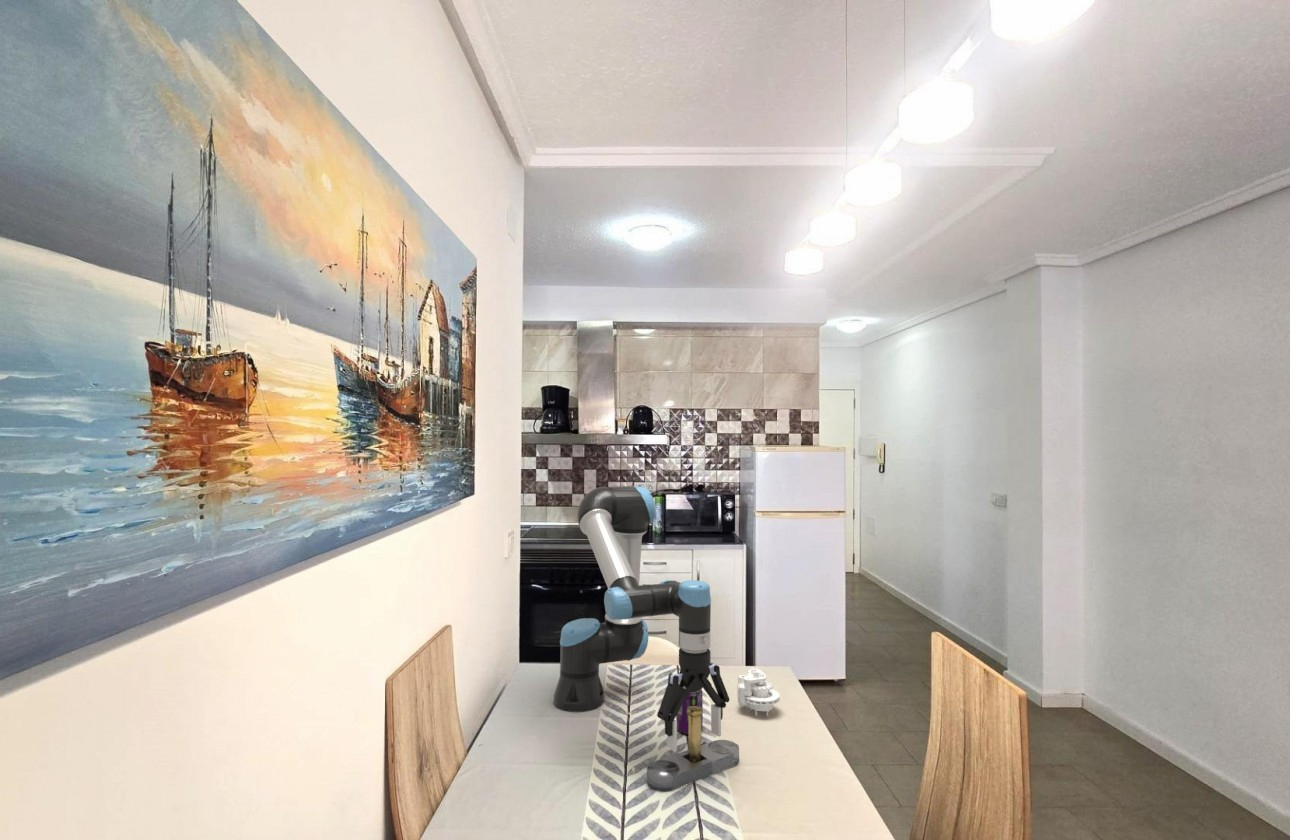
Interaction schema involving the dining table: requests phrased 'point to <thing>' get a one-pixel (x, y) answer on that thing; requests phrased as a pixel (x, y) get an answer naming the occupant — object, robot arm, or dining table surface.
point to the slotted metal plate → (692, 766)
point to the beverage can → (682, 717)
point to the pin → (694, 733)
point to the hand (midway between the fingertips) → (694, 741)
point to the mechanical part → (756, 692)
